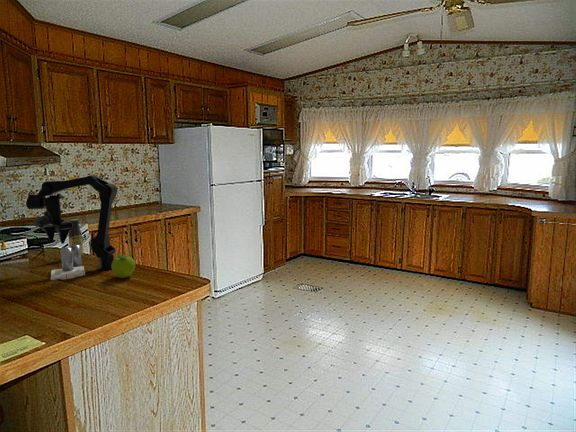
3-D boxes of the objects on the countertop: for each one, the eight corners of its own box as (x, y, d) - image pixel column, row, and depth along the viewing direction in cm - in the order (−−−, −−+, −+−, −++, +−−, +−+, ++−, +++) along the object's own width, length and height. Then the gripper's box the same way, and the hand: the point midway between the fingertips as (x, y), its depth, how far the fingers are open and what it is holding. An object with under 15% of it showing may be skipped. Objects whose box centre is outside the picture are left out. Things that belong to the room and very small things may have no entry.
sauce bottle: (73, 259, 206) (69, 221, 203) (67, 257, 210) (63, 220, 207) (86, 256, 211) (82, 219, 208) (80, 255, 215) (76, 218, 212)
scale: (83, 268, 189) (83, 263, 188) (85, 276, 176) (84, 271, 175) (51, 272, 183) (51, 267, 182) (50, 281, 169) (50, 276, 169)
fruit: (116, 281, 167) (114, 258, 166) (110, 276, 174) (108, 254, 173) (139, 277, 173) (137, 254, 171) (131, 272, 180) (129, 250, 179)
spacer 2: (83, 265, 194) (81, 245, 193) (74, 267, 191) (72, 246, 189) (78, 264, 197) (76, 244, 195) (69, 266, 193) (67, 246, 191)
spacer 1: (75, 269, 181) (73, 247, 179) (66, 272, 177) (63, 249, 175) (70, 268, 183) (67, 246, 181) (60, 270, 179) (58, 248, 178)
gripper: (23, 210, 181) (27, 244, 183) (46, 212, 171) (50, 248, 173) (49, 207, 190) (52, 239, 192) (71, 209, 180) (75, 243, 183)
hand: (57, 242), depth 185 cm, fingers open, 9 cm apart
